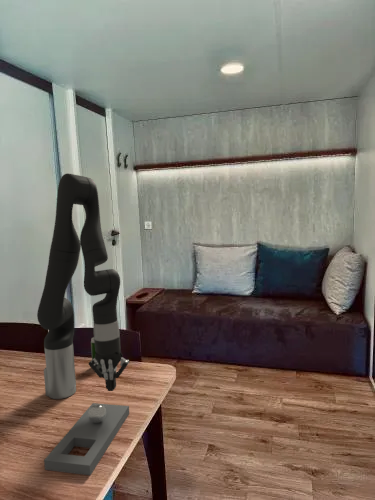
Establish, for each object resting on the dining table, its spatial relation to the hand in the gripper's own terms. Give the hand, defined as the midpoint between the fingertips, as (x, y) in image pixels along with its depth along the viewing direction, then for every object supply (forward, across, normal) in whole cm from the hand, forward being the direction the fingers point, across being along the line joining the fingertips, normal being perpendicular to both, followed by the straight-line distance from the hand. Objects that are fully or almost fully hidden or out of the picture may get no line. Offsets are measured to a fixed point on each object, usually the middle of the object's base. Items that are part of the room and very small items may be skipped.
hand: (111, 389), depth 110 cm
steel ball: (+2, -1, -9) cm, 9 cm away
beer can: (+7, -18, +31) cm, 37 cm away
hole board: (+8, -1, -13) cm, 15 cm away
